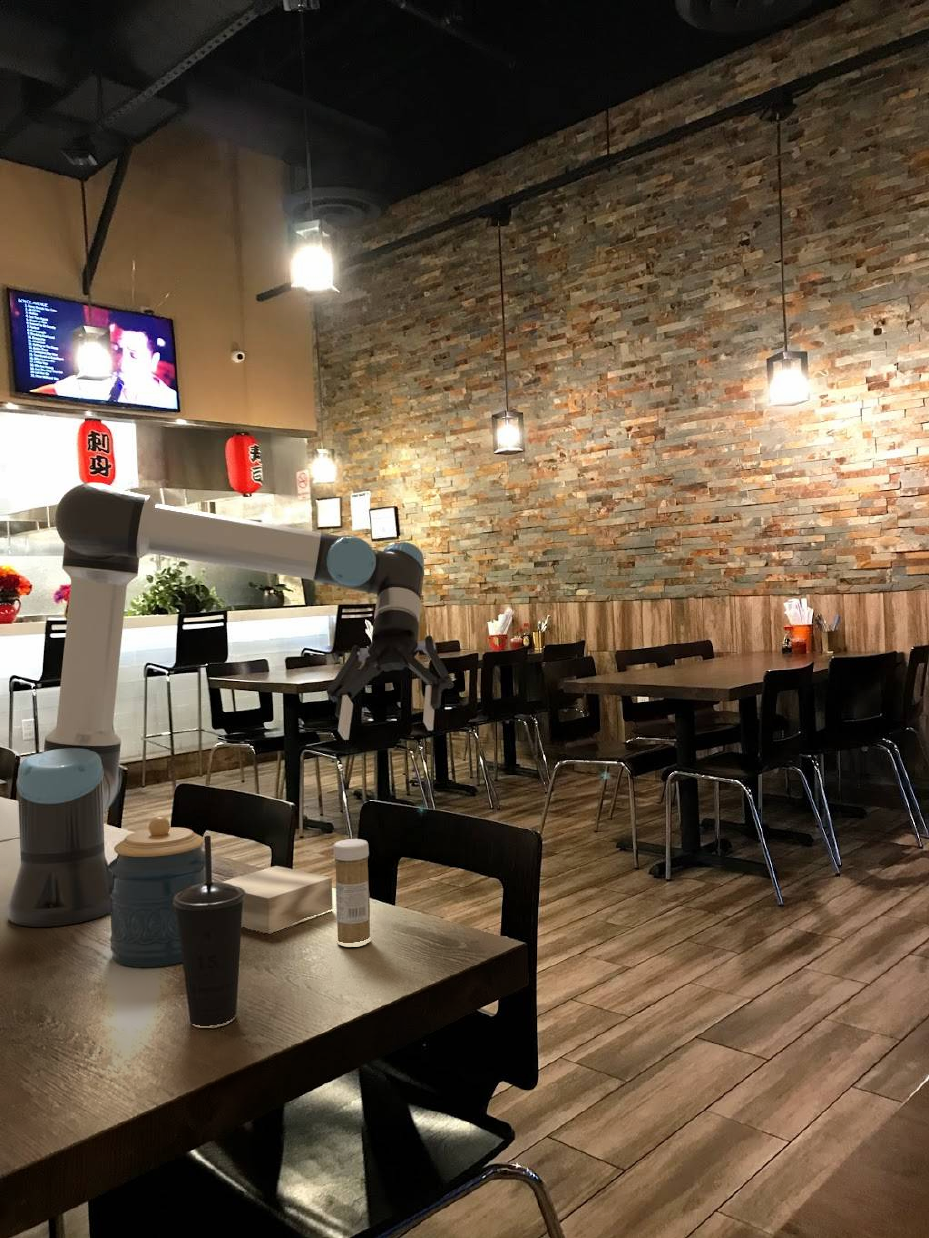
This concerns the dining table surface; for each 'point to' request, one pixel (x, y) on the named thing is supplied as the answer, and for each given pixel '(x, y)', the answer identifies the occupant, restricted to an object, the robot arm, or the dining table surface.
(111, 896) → the canister
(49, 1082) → the dining table surface
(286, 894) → the maple block
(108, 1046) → the dining table surface
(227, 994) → the drinking cup
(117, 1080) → the dining table surface
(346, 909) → the sprinkles bottle
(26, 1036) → the dining table surface
